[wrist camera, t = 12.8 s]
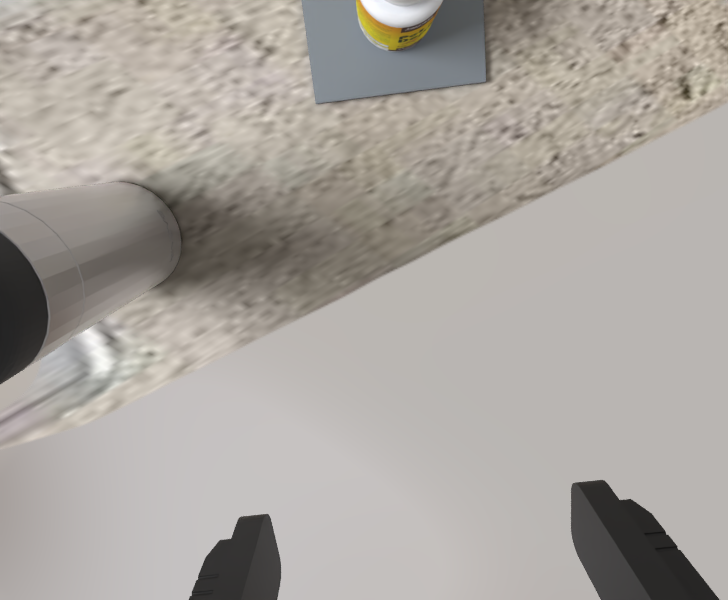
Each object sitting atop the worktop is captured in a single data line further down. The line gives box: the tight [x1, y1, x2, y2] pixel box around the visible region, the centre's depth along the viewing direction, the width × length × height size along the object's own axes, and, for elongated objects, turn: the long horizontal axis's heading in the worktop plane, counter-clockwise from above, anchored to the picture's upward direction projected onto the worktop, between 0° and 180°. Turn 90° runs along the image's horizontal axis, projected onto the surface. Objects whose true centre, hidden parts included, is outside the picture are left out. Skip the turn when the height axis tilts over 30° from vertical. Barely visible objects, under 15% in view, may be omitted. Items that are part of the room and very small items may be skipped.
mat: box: [302, 0, 486, 104], centre depth 34 cm, size 13×11×1 cm
